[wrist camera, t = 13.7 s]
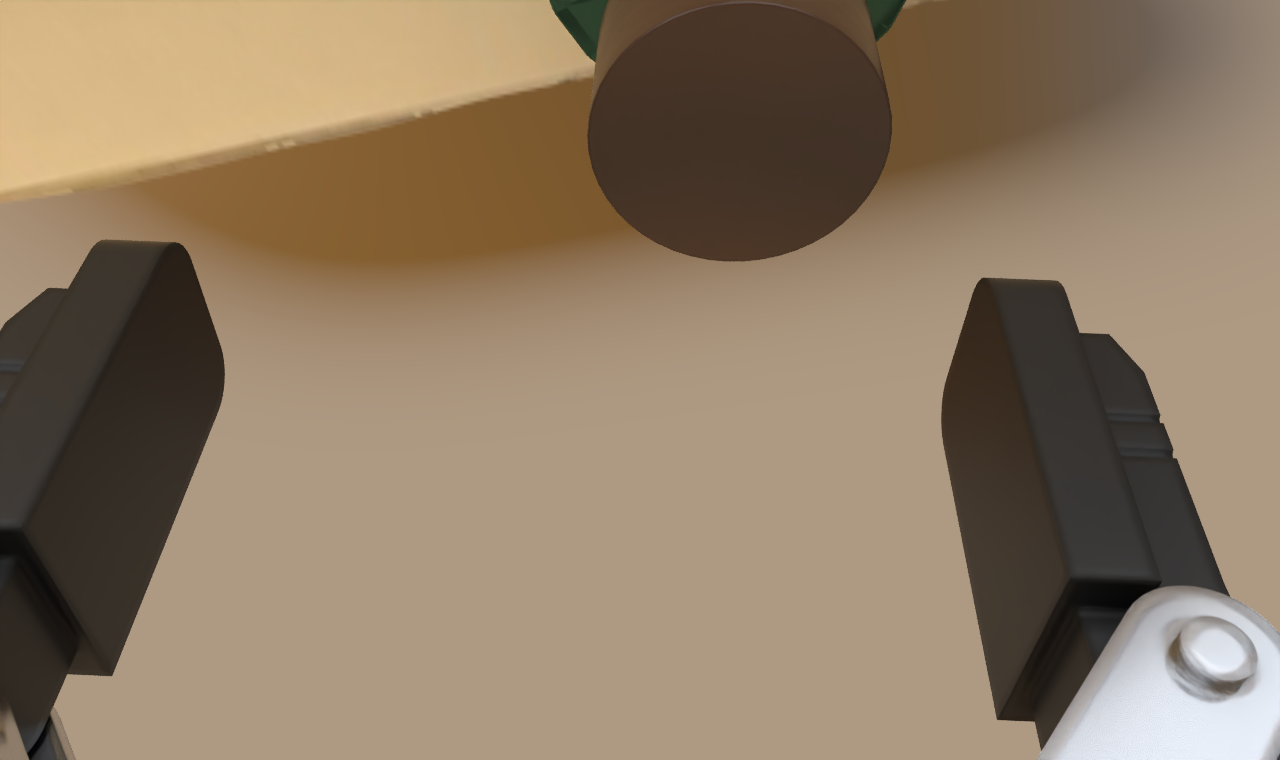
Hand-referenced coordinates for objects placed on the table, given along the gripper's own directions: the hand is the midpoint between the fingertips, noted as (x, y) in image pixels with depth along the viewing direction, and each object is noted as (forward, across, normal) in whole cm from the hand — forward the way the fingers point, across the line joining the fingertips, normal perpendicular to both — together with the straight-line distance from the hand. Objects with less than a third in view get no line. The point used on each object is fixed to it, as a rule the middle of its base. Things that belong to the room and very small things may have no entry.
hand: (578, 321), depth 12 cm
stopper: (+14, -2, +3) cm, 15 cm away
